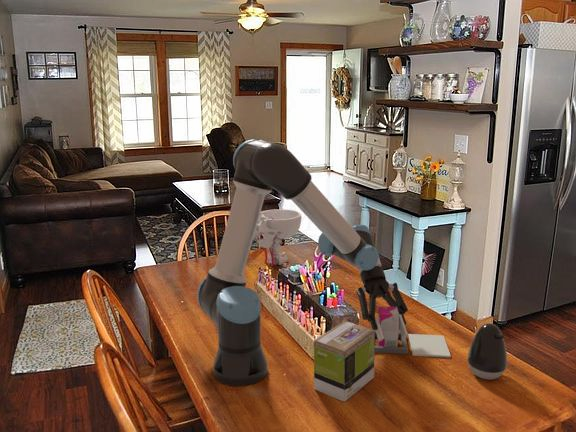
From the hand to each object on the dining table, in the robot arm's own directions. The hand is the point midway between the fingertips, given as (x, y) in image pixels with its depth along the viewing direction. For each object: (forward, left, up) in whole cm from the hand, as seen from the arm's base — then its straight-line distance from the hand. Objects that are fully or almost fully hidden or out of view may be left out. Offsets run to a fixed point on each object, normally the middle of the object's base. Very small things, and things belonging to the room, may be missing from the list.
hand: (393, 337), depth 161 cm
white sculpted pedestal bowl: (+72, +46, -4) cm, 86 cm away
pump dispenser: (-12, -25, -4) cm, 27 cm away
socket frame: (+3, +1, -4) cm, 5 cm away
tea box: (-21, +14, -4) cm, 26 cm away
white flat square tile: (+3, -11, -4) cm, 12 cm away
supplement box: (+3, +1, -4) cm, 5 cm away
